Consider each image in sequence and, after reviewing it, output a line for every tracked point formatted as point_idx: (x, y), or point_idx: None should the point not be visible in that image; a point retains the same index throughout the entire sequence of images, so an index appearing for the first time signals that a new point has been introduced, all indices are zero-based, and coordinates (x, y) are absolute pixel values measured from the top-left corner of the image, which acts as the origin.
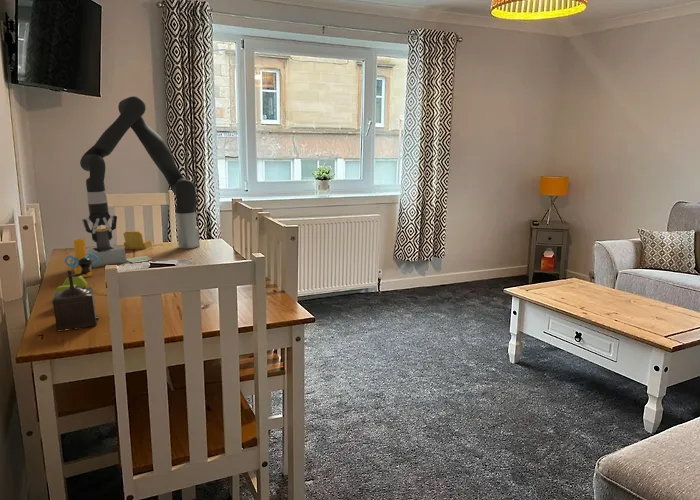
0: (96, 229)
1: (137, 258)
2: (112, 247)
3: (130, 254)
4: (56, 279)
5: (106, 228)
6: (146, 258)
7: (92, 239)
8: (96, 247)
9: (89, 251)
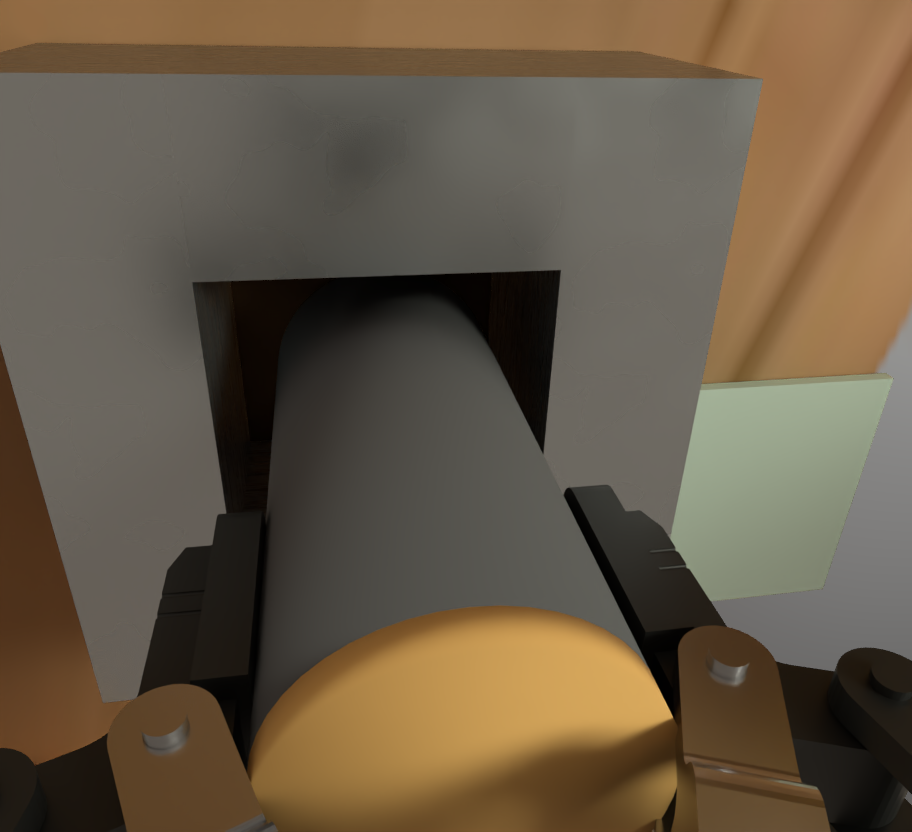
0: (319, 788)
1: (748, 456)
2: (555, 443)
3: (863, 50)
4: None
5: (648, 780)
6: (810, 516)
7: (171, 577)
8: (295, 232)
9: (105, 537)
